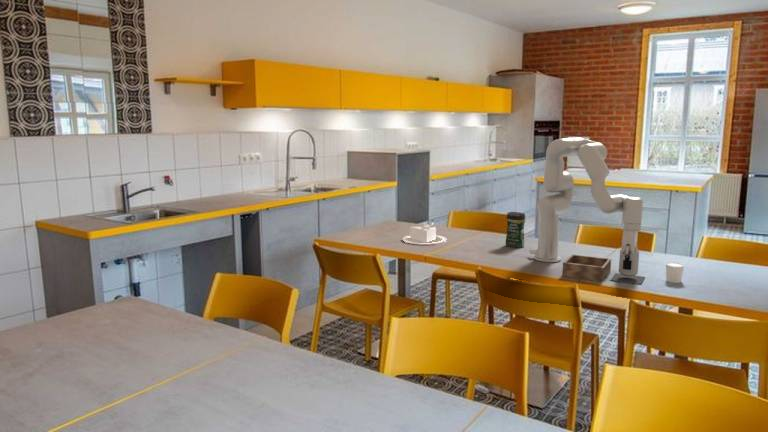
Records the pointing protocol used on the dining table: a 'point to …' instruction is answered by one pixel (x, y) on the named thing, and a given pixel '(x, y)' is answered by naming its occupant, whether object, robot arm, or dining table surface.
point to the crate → (587, 267)
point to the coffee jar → (515, 229)
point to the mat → (628, 279)
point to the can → (633, 266)
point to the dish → (424, 235)
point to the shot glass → (674, 272)
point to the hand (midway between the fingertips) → (628, 266)
